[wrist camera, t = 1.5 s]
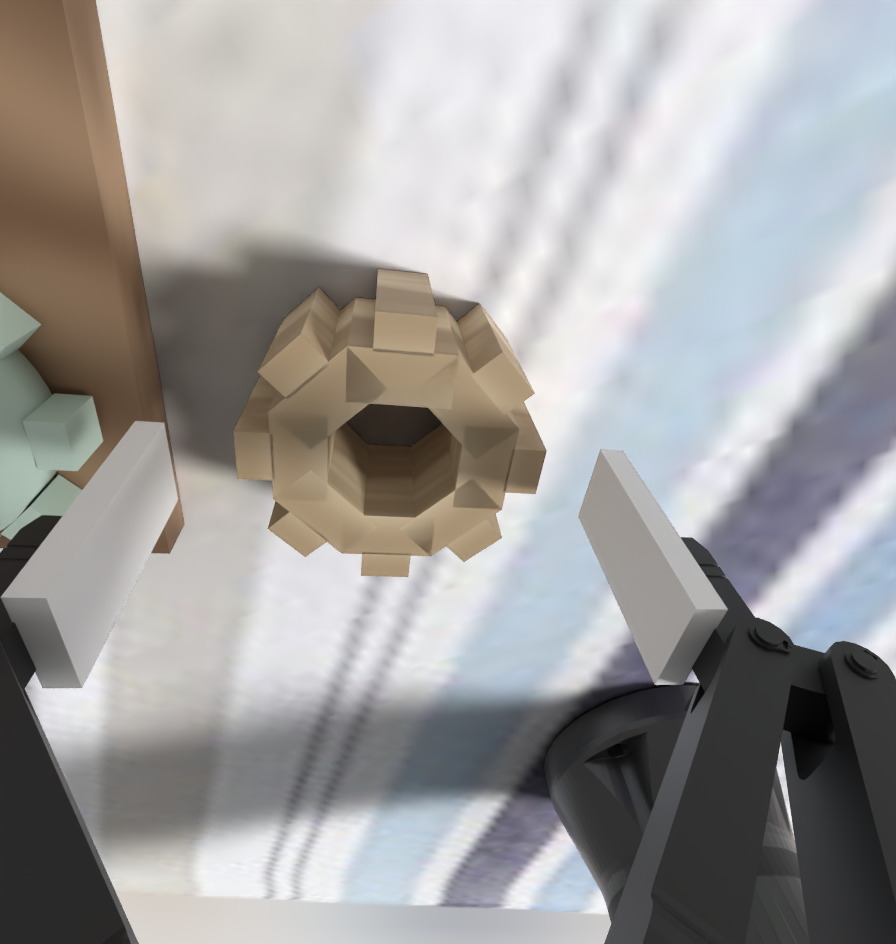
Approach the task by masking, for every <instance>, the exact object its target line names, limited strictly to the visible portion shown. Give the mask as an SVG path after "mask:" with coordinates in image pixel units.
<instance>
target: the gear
mask: <svg viewBox="0 0 896 944" xmlns="http://www.w3.org/2000/svg"><path fill="white" fill-rule="evenodd" d="M40 326H41V324H40V323H39V322H38V321H36V320H35V319H34V318H33V317H31V316H30V315H29V314H27V313H26V312H25V311H24V310H22V309H21V308H20V307H19V306H17V305H16V304H15V303H13V302H12V301H11V300H10V299H8V298H7V297H6V296H4V295H3V294H2V293H1V292H0V531H1V530H3V529H4V528H5V529H4V531H3V532H2V533H1V535H3V536H5V537H7V538H8V539H10V540H12V538H13V537H14V536H15V535H16V534H17V532H18V531H19V530H20V529H21V528H23V527H24V526H26V525H27V524H29V523H30V522H32V521H33V520H35V519H36V518H38V517H40V516H41V515H54V516H63V515H64V514H65V512H66V511H67V510H68V508H69V507H70V506H71V504H72V503H73V502H74V501H75V499H76V498H77V497H78V495H79V494H80V493H81V491H82V489H80V488H79V487H77V486H76V485H74V484H73V483H71V482H69V481H68V480H66V479H65V478H63V477H62V476H60V475H58V476H57V477H56V478H55V479H54V480H52V479H53V477H54V476H55V474H56V472H57V471H58V470H64V471H78V470H79V469H80V468H81V467H82V465H83V464H84V463H85V462H86V461H87V460H88V458H89V457H90V456H91V455H92V454H93V453H94V451H95V450H96V449H97V448H98V447H99V446H100V444H101V443H102V442H103V437H102V433H101V429H100V425H99V421H98V417H97V413H96V409H95V405H94V401H93V397H92V396H86V395H71V394H57V393H54V394H53V395H52V394H51V392H50V390H49V388H48V386H47V385H46V383H45V382H44V380H43V379H42V377H41V376H40V374H39V373H38V371H37V370H36V369H35V368H34V366H33V365H32V364H31V363H30V362H29V361H28V359H27V358H26V357H25V356H24V355H23V354H22V353H21V352H20V351H19V350H18V349H19V348H20V347H21V346H22V345H23V344H24V343H25V342H26V341H27V340H28V339H29V337H30V336H31V335H32V334H33V333H34V332H35V331H36V330H37V329H38V328H39V327H40ZM51 480H52V481H51ZM50 481H51V482H50ZM49 482H50V483H49ZM48 483H49V484H48ZM0 537H1V536H0Z"/></svg>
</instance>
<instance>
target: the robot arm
mask: <svg viewBox="0 0 896 944" xmlns="http://www.w3.org/2000/svg"><path fill="white" fill-rule="evenodd" d="M177 501H178V496H177V490H176V485H175V480H174V474H173V469H172V463H171V458H170V452H169V447H168V441H167V436H166V430H165V425H164V423H161V422H145V421H135V422H134V423H133V425H132V426H131V427H130V428H129V430H128V431H127V432H126V434H125V435H124V436H123V438H122V439H121V440H120V442H119V443H118V444H117V446H116V447H115V448H114V449H113V451H112V452H111V453H110V455H109V456H108V457H107V459H106V460H105V461H104V463H103V464H102V465H101V466H100V468H99V469H98V470H97V472H96V473H95V474H94V476H93V477H92V478H91V480H90V481H89V482H88V484H87V485H86V486H85V487H84V489H83V490H82V491H81V493H80V494H79V495H78V497H77V498H76V499H75V501H74V502H73V503H72V504H71V506H70V507H69V508H68V510H67V511H66V512H65V514H64V515H63V516H54V515H41V516H40V517H38V518H36V519H35V520H33V521H32V522H30V523H29V524H27V525H26V526H24V527H23V528H21V529H20V530H19V531H18V532H17V534H16V535H15V536H14V537H13V538H12V540H11V541H10V542H9V543H8V544H7V548H4V549H3V550H2V551H1V553H0V944H139V943H138V941H137V939H136V937H135V935H134V932H133V930H132V928H131V926H130V923H129V921H128V919H127V917H126V914H125V912H124V910H123V908H122V905H121V903H120V901H119V899H118V896H117V894H116V892H115V890H114V887H113V885H112V883H111V881H110V879H109V876H108V874H107V872H106V870H105V867H104V865H103V863H102V861H101V858H100V856H99V854H98V852H97V849H96V847H95V845H94V843H93V840H92V838H91V836H90V834H89V832H88V829H87V827H86V825H85V823H84V820H83V818H82V816H81V814H80V811H79V809H78V807H77V805H76V802H75V800H74V798H73V796H72V794H71V791H70V789H69V787H68V785H67V782H66V780H65V778H64V776H63V773H62V771H61V769H60V767H59V764H58V762H57V760H56V758H55V755H54V753H53V751H52V749H51V747H50V744H49V742H48V740H47V738H46V735H45V733H44V731H43V729H42V726H41V724H40V722H39V720H38V717H37V715H36V713H35V711H34V708H33V706H32V704H31V702H30V700H29V697H28V695H27V693H26V691H25V687H26V685H27V684H28V682H29V680H30V679H31V677H32V676H33V674H34V672H36V675H37V677H38V679H39V681H40V683H41V685H42V687H43V688H82V687H83V685H84V683H85V681H86V679H87V677H88V675H89V673H90V672H91V670H92V668H93V666H94V664H95V662H96V660H97V658H98V656H99V654H100V652H101V650H102V648H103V646H104V644H105V642H106V640H107V638H108V636H109V634H110V632H111V630H112V628H113V626H114V624H115V623H116V621H117V619H118V617H119V615H120V613H121V611H122V609H123V607H124V605H125V603H126V601H127V599H128V597H129V595H130V593H131V591H132V589H133V587H134V585H135V583H136V581H137V579H138V577H139V575H140V574H141V572H142V570H143V568H144V566H145V564H146V562H147V560H148V558H149V556H150V554H151V552H152V550H153V548H154V546H155V544H156V542H157V540H158V538H159V536H160V534H161V532H162V530H163V528H164V526H165V525H166V523H167V521H168V519H169V517H170V515H171V513H172V511H173V509H174V507H175V505H176V503H177ZM578 517H579V519H580V521H581V523H582V526H583V528H584V530H585V532H586V534H587V537H588V539H589V541H590V543H591V545H592V548H593V550H594V552H595V554H596V556H597V559H598V561H599V563H600V565H601V567H602V570H603V572H604V574H605V576H606V579H607V581H608V583H609V585H610V587H611V590H612V592H613V594H614V596H615V598H616V601H617V603H618V605H619V607H620V609H621V612H622V614H623V616H624V618H625V620H626V623H627V625H628V627H629V629H630V631H631V634H632V636H633V638H634V640H635V642H636V645H637V647H638V649H639V651H640V653H641V656H642V658H643V660H644V662H645V664H646V667H647V669H648V671H649V673H650V675H651V678H652V680H653V682H654V684H655V685H678V686H666V687H659V688H653V689H648V690H643V691H639V692H635V693H632V694H629V695H625V696H623V697H620V698H617V699H614V700H612V701H609V702H607V703H605V704H603V705H601V706H599V707H597V708H595V709H593V710H591V711H589V712H587V713H586V714H584V715H583V716H581V717H580V718H578V719H577V720H575V721H574V722H573V723H571V724H570V725H569V726H568V727H567V728H566V729H564V730H563V731H562V732H561V733H560V734H559V736H558V737H557V738H556V739H555V740H554V742H553V743H552V745H551V746H550V748H549V750H548V752H547V755H546V758H545V763H544V771H545V775H546V780H547V784H548V788H549V792H550V796H551V800H552V803H553V806H554V808H555V811H556V813H557V814H558V816H559V818H560V820H561V822H562V823H563V825H564V827H565V829H566V830H567V832H568V834H569V836H570V837H571V839H572V841H573V843H574V844H575V846H576V848H577V850H578V851H579V853H580V855H581V857H582V858H583V860H584V862H585V864H586V865H587V867H588V869H589V871H590V873H591V874H592V876H593V878H594V880H595V881H596V883H597V885H598V887H599V888H600V890H601V892H602V894H603V897H604V899H605V902H606V905H607V909H608V912H609V916H610V920H611V927H610V929H609V932H608V935H607V938H606V940H605V943H604V944H896V679H895V676H894V675H893V673H892V671H891V670H890V668H889V666H888V665H887V664H886V663H885V662H884V661H883V660H882V659H881V658H880V657H878V656H877V655H875V654H874V653H872V652H871V651H870V650H868V649H866V648H864V647H862V646H859V645H857V644H855V643H850V642H846V641H841V642H835V643H834V644H833V645H832V646H831V647H830V648H829V649H828V650H827V652H826V653H822V652H818V651H815V650H811V649H807V648H804V647H800V646H796V645H794V644H793V642H792V641H791V639H790V637H789V636H787V635H786V634H785V633H784V632H783V631H782V630H781V629H780V628H778V627H777V626H775V625H773V624H772V623H770V622H768V621H765V620H762V619H760V618H755V617H754V615H753V614H752V613H751V611H750V610H749V608H748V607H747V606H746V604H745V603H744V601H743V600H742V598H741V597H740V596H739V594H738V593H737V591H736V590H735V588H734V587H733V586H732V584H731V583H730V581H729V580H728V579H726V578H725V574H724V573H723V571H722V570H721V569H720V567H718V566H717V565H718V564H717V563H716V561H715V560H714V559H713V557H712V556H711V554H710V553H709V551H708V550H707V549H705V548H704V547H703V546H702V545H701V544H699V543H698V542H697V541H696V540H694V539H693V538H684V537H680V536H679V535H678V533H677V532H676V530H675V529H674V527H673V526H672V524H671V523H670V521H669V520H668V518H667V516H666V515H665V513H664V512H663V510H662V509H661V507H660V506H659V504H658V503H657V501H656V500H655V498H654V497H653V495H652V494H651V492H650V491H649V489H648V488H647V486H646V485H645V483H644V482H643V480H642V479H641V477H640V476H639V474H638V473H637V471H636V470H635V468H634V467H633V465H632V464H631V462H630V461H629V459H628V458H627V456H626V455H625V453H624V452H623V451H620V450H604V449H600V452H599V455H598V458H597V461H596V464H595V467H594V470H593V473H592V476H591V479H590V482H589V485H588V489H587V492H586V495H585V498H584V501H583V504H582V507H581V510H580V513H579V516H578ZM692 669H693V671H694V673H695V675H696V677H697V678H698V680H699V682H700V683H699V685H698V686H695V685H683V684H684V683H685V681H686V679H687V677H688V676H689V674H690V672H691V671H692ZM780 743H781V746H782V753H783V760H784V767H785V774H786V781H787V788H788V795H789V802H790V809H791V816H792V823H793V830H794V837H795V840H794V837H793V833H792V829H791V825H790V821H789V817H788V813H787V809H786V805H785V801H784V797H783V793H782V789H781V784H780V780H779V777H778V773H777V769H776V765H777V760H778V754H779V748H780Z"/></svg>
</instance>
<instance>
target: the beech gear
mask: <svg viewBox="0 0 896 944" xmlns="http://www.w3.org/2000/svg"><path fill="white" fill-rule="evenodd" d="M258 373H259V374H260V377H259V379H258V381H257V383H256V385H255V387H254V389H253V391H252V393H251V395H250V397H249V399H248V401H247V403H246V406H245V408H244V410H243V412H242V414H241V416H240V418H239V420H238V422H237V424H236V426H235V428H234V430H233V436H234V446H235V456H236V467H237V477H238V479H250V480H270V481H272V488H273V499H274V500H275V501H276V502H275V505H274V509H273V512H272V516H271V519H270V523H269V526H268V529H269V530H270V531H271V532H273V533H274V534H275V535H277V536H278V537H279V538H281V539H282V540H283V541H285V542H286V543H287V544H289V545H290V546H291V547H293V548H294V549H295V550H297V551H298V552H299V553H301V554H302V555H303V556H305V557H306V556H307V555H309V554H310V553H312V552H313V551H314V550H316V549H317V548H319V547H320V546H321V545H323V544H324V543H326V542H328V543H329V544H331V545H332V546H333V547H334V548H336V549H337V550H338V551H339V552H341V553H349V554H362V568H361V576H392V577H408V573H409V565H410V556H432V555H433V554H435V553H436V552H438V551H439V550H441V549H442V548H444V547H445V546H447V547H448V548H449V549H450V550H451V551H452V552H453V553H454V554H456V555H457V556H458V557H459V558H460V559H461V560H462V561H463V562H465V561H466V560H468V559H469V558H471V557H472V556H474V555H476V554H477V553H479V552H480V551H482V550H483V549H485V548H487V547H488V546H490V545H491V544H493V543H494V542H496V541H498V540H499V539H501V538H502V536H501V533H500V529H499V525H498V521H497V518H496V513H497V512H499V511H500V510H502V506H503V501H504V497H505V492H506V493H526V494H536V490H537V486H538V482H539V478H540V474H541V470H542V466H543V463H544V459H545V455H546V449H545V447H544V444H543V442H542V440H541V438H540V436H539V434H538V431H537V429H536V427H535V425H534V423H533V421H532V419H531V416H530V414H529V412H528V410H527V408H526V406H525V403H524V401H525V400H526V399H528V398H529V397H530V396H532V395H533V394H535V393H534V391H533V389H532V387H531V385H530V383H529V381H528V379H527V377H526V375H525V373H524V372H523V370H522V368H521V366H520V364H519V362H518V360H517V358H516V356H515V354H514V352H513V350H512V348H511V346H510V344H509V342H508V341H507V339H506V337H505V336H504V335H503V333H502V332H501V331H500V329H499V328H498V327H497V325H496V324H495V323H494V321H493V320H492V319H491V317H490V316H489V315H488V313H487V312H486V311H485V309H484V308H483V307H482V305H481V304H478V305H477V306H476V307H475V308H473V309H472V310H471V311H470V312H468V313H467V314H466V315H465V316H463V317H462V318H461V319H460V320H458V321H456V320H455V319H454V317H453V316H452V315H451V314H450V312H449V311H448V310H447V309H446V307H445V306H436V305H435V302H434V298H433V294H432V290H431V286H430V281H429V277H428V274H421V273H412V272H403V271H393V270H384V269H378V276H377V291H376V300H375V299H365V298H354V299H353V300H352V301H351V302H350V303H349V304H348V305H346V306H345V307H344V308H343V309H342V310H341V311H340V310H339V308H338V307H337V306H336V305H335V304H334V303H333V302H332V301H331V300H330V299H329V297H328V296H327V295H326V294H325V293H324V292H323V291H322V290H321V289H320V288H318V289H316V290H315V291H314V292H313V293H312V294H311V295H310V296H309V297H308V298H306V299H305V300H304V301H303V302H302V303H301V304H300V305H299V306H297V307H296V308H295V309H294V310H293V311H292V312H291V313H290V314H289V315H287V316H286V317H285V318H284V320H283V322H282V324H281V326H280V328H279V330H278V332H277V334H276V336H275V338H274V340H273V342H272V344H271V346H270V348H269V350H268V352H267V354H266V356H265V358H264V360H263V362H262V364H261V366H260V368H259V370H258ZM369 404H384V405H398V406H411V407H425V408H429V409H430V410H431V412H432V413H433V414H434V415H435V416H436V417H437V418H438V419H439V420H440V421H441V422H442V424H441V425H440V426H438V427H437V428H436V429H434V430H433V431H431V432H430V433H429V434H427V435H426V436H425V437H423V438H422V439H421V440H419V441H418V442H416V443H415V444H414V445H412V446H411V447H405V446H389V445H372V444H367V443H366V442H365V441H364V440H363V439H362V438H361V437H360V436H359V435H358V434H357V433H356V432H355V431H354V430H353V429H352V428H351V427H350V426H349V425H348V424H347V423H346V422H347V421H348V420H350V419H351V418H352V417H353V416H355V415H356V414H357V413H358V412H360V411H361V410H362V409H364V408H365V407H366V406H367V405H369Z"/></svg>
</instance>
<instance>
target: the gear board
mask: <svg viewBox="0 0 896 944" xmlns="http://www.w3.org/2000/svg"><path fill="white" fill-rule="evenodd" d="M0 292H1V293H2V294H3V295H4V296H6V297H7V298H8V299H10V300H11V301H12V302H13V303H15V304H16V305H17V306H19V307H20V308H21V309H22V310H24V311H25V312H26V313H27V314H29V315H30V316H31V317H33V318H34V319H35V320H36V321H38V322H39V323H40V324H41V326H40V327H39V328H38V329H37V330H36V331H35V332H34V333H33V334H32V335H31V336H30V337H29V339H28V340H27V341H26V342H25V343H24V344H23V345H22V346H21V347H20V348H19V349H18V350H19V351H20V352H21V353H22V354H23V355H24V356H25V357H26V358H27V359H28V361H29V362H30V363H31V364H32V365H33V366H34V368H35V369H36V370H37V371H38V373H39V374H40V376H41V377H42V379H43V380H44V382H45V383H46V385H47V386H48V388H49V390H50V392H51V394H52V395H53V394H54V393H57V394H71V395H86V396H92V397H93V401H94V405H95V409H96V413H97V417H98V421H99V425H100V429H101V433H102V437H103V442H102V443H101V444H100V446H99V447H98V448H97V449H96V450H95V451H94V453H93V454H92V455H91V456H90V457H89V458H88V460H87V461H86V462H85V463H84V464H83V465H82V467H81V468H80V469H79V470H78V471H64V470H58V471H57V472H56V474H55V476H54V477H53V479H52V480H54V479H55V478H56V477H57V476H58V475H60V476H62V477H63V478H65V479H66V480H68V481H69V482H71V483H73V484H74V485H76V486H77V487H79V488H80V489H82V490H83V489H84V487H85V486H86V485H87V484H88V482H89V481H90V480H91V478H92V477H93V476H94V474H95V473H96V472H97V470H98V469H99V468H100V466H101V465H102V464H103V463H104V461H105V460H106V459H107V457H108V456H109V455H110V453H111V452H112V451H113V449H114V448H115V447H116V446H117V444H118V443H119V442H120V440H121V439H122V438H123V436H124V435H125V434H126V432H127V431H128V430H129V428H130V427H131V426H132V425H133V423H134V422H135V421H145V422H161V423H164V425H165V430H166V436H167V441H168V447H169V452H170V458H171V463H172V469H173V474H174V480H175V485H176V490H177V496H178V501H177V503H176V505H175V507H174V509H173V511H172V513H171V515H170V517H169V519H168V521H167V523H166V525H165V526H164V528H163V530H162V532H161V534H160V536H159V538H158V540H157V542H156V544H155V546H154V548H153V550H152V552H151V553H168V554H170V552H171V550H172V548H173V546H174V544H175V542H176V540H177V538H178V536H179V534H180V532H181V530H182V528H183V526H184V519H183V513H182V508H181V502H180V496H179V490H178V484H177V478H176V472H175V466H174V460H173V454H172V449H171V443H170V437H169V431H168V425H167V419H166V413H165V407H164V401H163V395H162V390H161V384H160V378H159V372H158V366H157V360H156V354H155V348H154V342H153V337H152V331H151V325H150V319H149V313H148V307H147V301H146V295H145V289H144V283H143V278H142V272H141V266H140V260H139V254H138V248H137V242H136V236H135V230H134V224H133V219H132V213H131V207H130V201H129V195H128V189H127V183H126V177H125V171H124V166H123V160H122V154H121V148H120V142H119V136H118V130H117V124H116V118H115V112H114V107H113V101H112V95H111V89H110V83H109V77H108V71H107V65H106V59H105V53H104V48H103V42H102V36H101V30H100V24H99V18H98V12H97V6H96V0H0ZM52 480H51V481H52ZM51 481H50V482H51ZM50 482H49V483H50ZM49 483H48V484H49ZM4 529H5V528H4ZM4 529H3V530H1V531H0V536H1V537H0V548H7V544H8V543H9V542H10V541H11V540H10V539H8V538H7V537H5V536H3V535H1V533H2V532H3V531H4Z"/></svg>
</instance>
